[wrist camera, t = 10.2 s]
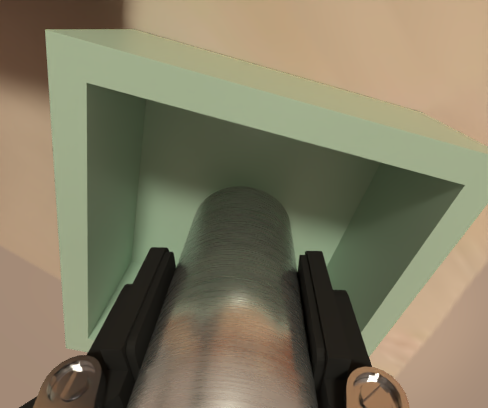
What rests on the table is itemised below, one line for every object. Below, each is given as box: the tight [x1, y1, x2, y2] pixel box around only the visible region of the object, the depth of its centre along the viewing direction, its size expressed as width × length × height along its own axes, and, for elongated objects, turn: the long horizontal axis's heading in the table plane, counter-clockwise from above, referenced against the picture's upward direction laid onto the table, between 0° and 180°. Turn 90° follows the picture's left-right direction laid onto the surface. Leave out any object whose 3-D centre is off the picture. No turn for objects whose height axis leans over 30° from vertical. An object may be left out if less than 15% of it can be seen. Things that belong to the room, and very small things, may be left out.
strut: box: [127, 186, 318, 408], centre depth 9 cm, size 4×4×12 cm
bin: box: [45, 29, 488, 356], centre depth 14 cm, size 13×13×6 cm
